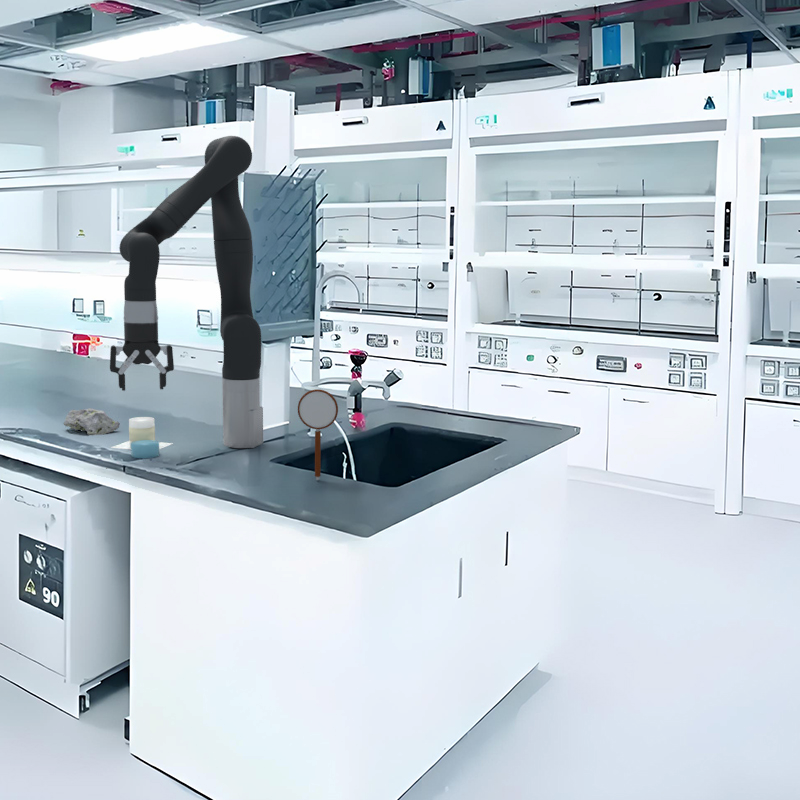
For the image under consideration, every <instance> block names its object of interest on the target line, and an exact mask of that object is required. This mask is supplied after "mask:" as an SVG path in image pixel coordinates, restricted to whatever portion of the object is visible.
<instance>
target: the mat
mask: <svg viewBox="0 0 800 800" xmlns="http://www.w3.org/2000/svg"><path fill="white" fill-rule="evenodd" d="M158 442H159V450H162V449H163V448H166V447H169V446H171V445H174V443H173V442H161V441H158ZM110 449H119V450H128V451H129V450H130V451H131V448H130V441H129V440H127V441H124V442H122V443H120V444H117V445H113V446H111V447H110Z"/></svg>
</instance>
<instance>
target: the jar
mask: <svg viewBox="0 0 800 800" xmlns="http://www.w3.org/2000/svg"><path fill="white" fill-rule="evenodd" d="M128 437H129V440H128V441H130V448H131V443H132V442H134V441H140V440H155V441H156V425H155V418H154V417H151V416H137V417H132V418H131V417H130V418H129V419H128Z"/></svg>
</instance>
